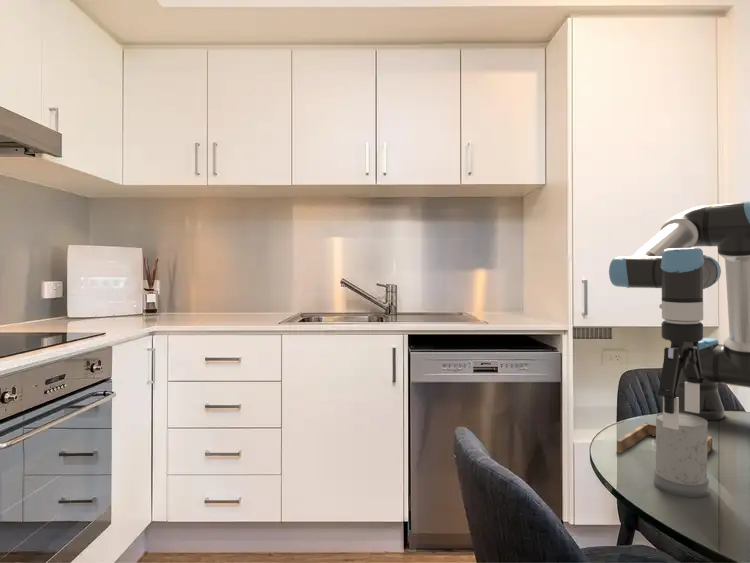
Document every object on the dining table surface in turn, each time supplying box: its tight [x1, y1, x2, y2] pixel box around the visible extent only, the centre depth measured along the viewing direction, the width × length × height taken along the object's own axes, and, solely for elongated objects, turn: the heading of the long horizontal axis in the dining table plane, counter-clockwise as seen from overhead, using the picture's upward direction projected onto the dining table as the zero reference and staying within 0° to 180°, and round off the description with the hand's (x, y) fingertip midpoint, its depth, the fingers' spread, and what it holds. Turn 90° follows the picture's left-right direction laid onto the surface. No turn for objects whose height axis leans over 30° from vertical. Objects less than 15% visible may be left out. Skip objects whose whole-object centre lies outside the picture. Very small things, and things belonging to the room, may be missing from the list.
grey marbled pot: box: [654, 412, 709, 485], centre depth 108 cm, size 10×10×12 cm
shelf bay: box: [616, 422, 713, 454], centre depth 128 cm, size 19×16×3 cm
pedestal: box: [653, 468, 710, 499], centre depth 108 cm, size 10×10×2 cm
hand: (681, 419), depth 108 cm, fingers open, 13 cm apart
